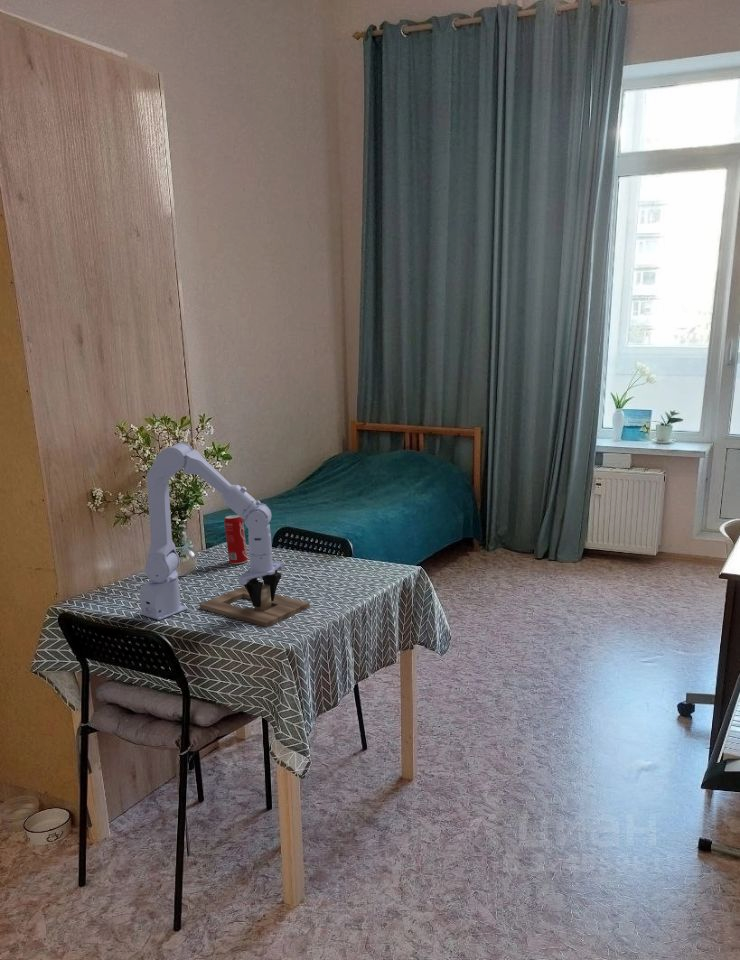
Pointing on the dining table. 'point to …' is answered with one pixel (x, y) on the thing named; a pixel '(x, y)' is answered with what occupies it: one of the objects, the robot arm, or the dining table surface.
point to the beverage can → (235, 539)
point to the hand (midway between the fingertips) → (263, 603)
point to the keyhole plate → (278, 612)
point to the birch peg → (265, 598)
